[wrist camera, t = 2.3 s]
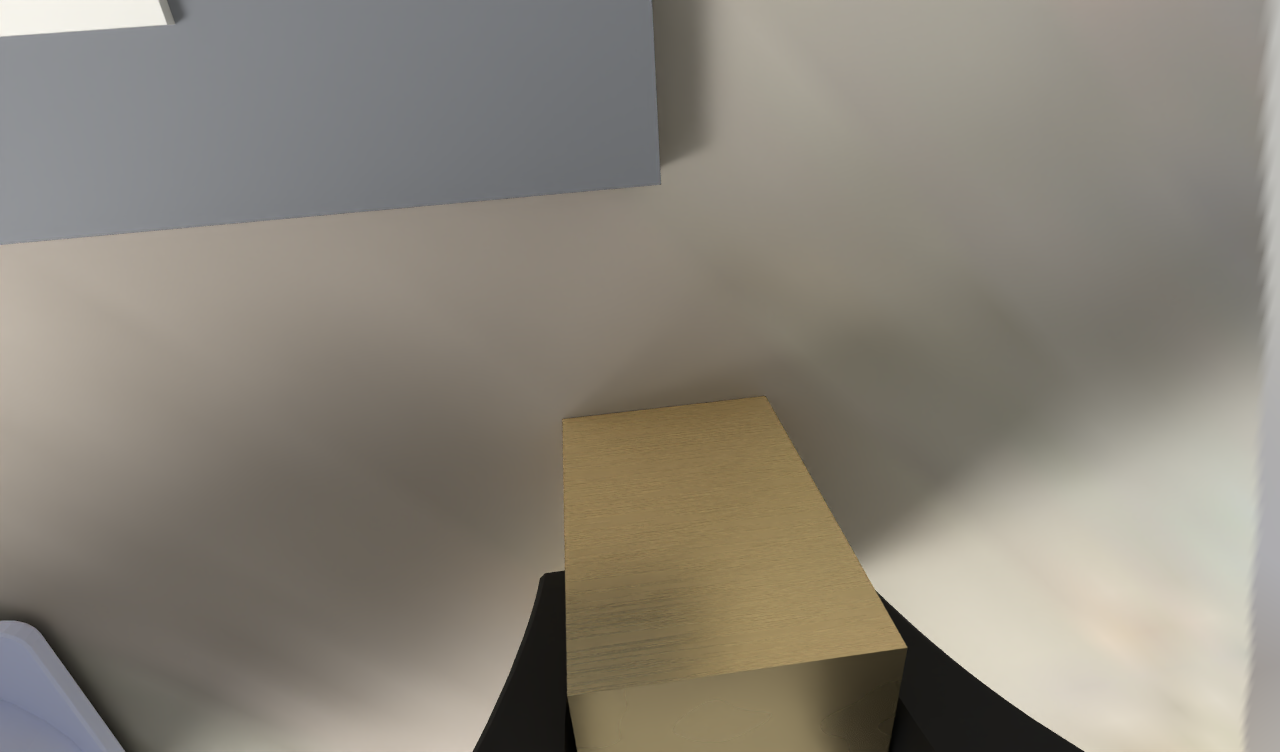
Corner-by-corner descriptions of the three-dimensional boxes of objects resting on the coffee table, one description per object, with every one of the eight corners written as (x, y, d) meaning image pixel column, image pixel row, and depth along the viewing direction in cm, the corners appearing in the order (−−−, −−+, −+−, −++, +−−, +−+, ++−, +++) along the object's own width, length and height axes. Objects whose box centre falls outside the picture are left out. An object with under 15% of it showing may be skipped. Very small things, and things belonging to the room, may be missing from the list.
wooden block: (592, 634, 16) (611, 944, 10) (562, 418, 13) (567, 696, 7) (759, 611, 16) (859, 903, 11) (765, 395, 13) (907, 647, 8)
